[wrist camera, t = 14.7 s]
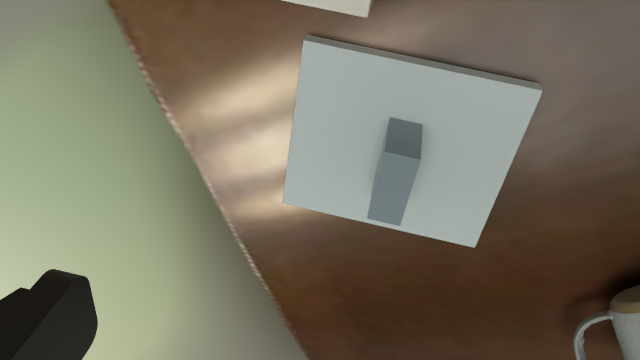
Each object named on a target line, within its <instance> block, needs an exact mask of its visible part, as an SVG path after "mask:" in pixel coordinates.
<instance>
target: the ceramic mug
mask: <svg viewBox="0 0 640 360" xmlns="http://www.w3.org/2000/svg"><path fill="white" fill-rule="evenodd" d="M609 307H610V309H609V311H605V312H599V313H596V314H594V315H591V316H589V317H587V318H586V319H584V320H583V321H582V322H581V323H580V324H579V325H578V326H577V328H576V330H575V333H574V338H573V345H574V352H575V355H576V359H577V360H586V356H585V353H584V348H583V343H584V341H585V340H584V338H583V334H584V331H585V329H587V328H588V327H589V326H590V325H591V324H594V323H596V322H599V321H602V320H606V319H611V320H612V324H613V328H614V330H615V333H616V336H617V340H618V341H619V343H620V347H621V350H622V354H623V357H624V360H640V285H638V286H635V287H632V288H629V289H626V290H624V291H622V292H620V293H618V294H617V295H615V296H614V298H613V299H612V300H611V302H610V305H609Z"/></svg>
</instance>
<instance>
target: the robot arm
mask: <svg viewBox="0 0 640 360" xmlns="http://www.w3.org/2000/svg"><path fill="white" fill-rule="evenodd" d="M97 325H98V322H97V315H96V311H95V306H94V302H93V297H92V293H91V288H90V284H89V280H88V279H87V278H86V277H84V276H81V275H76V274H72V273H68V272H64V271H60V270H56V269H52V270H49V271H47V272H46V273H44V274H43V275H42V276H41V278H40V279H39V280H38V281H37V282H36V283H35V284H34V285H33V287H32V288H31V289H30V290H29V289H25V288H19V289H17V290H16V291H14V292H13V293H11V294H9V295H8V296H6V297H5V298H3V299H1V300H0V360H82V358H83V357H84V355H85V354H86V352H87V351H88V349H89V348H90V346H91V344H92V342H93V340H94V338H95V334H96V331H97Z"/></svg>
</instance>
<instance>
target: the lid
mask: <svg viewBox="0 0 640 360" xmlns="http://www.w3.org/2000/svg"><path fill="white" fill-rule="evenodd" d="M542 92H543V90H542V87H541V84H540V83H535V82H530V81H526V80H521V79H516V78H511V77H507V76H502V75H497V74H492V73H488V72H483V71H478V70H473V69H469V68H464V67H459V66H454V65H450V64H445V63H440V62H435V61H431V60H426V59H421V58H416V57H411V56H407V55H402V54H397V53H392V52H388V51H383V50H378V49H373V48H369V47H364V46H359V45H354V44H350V43H345V42H340V41H335V40H331V39H326V38H321V37H316V36H312V35H307V36H306V37H305V39H304V42H303V49H302V57H301V65H300V72H299V80H298V87H297V95H296V103H295V110H294V118H293V125H292V133H291V141H290V148H289V156H288V163H287V171H286V179H285V186H284V194H283V202H282V203H284V204H288V205H293V206H297V207H301V208H306V209H310V210H314V211H318V212H323V213H327V214H331V215H336V216H340V217H344V218H349V219H353V220H357V221H362V222H366V223H370V224H374V225H379V226H383V227H387V228H392V229H396V230H400V231H405V232H409V233H413V234H418V235H422V236H426V237H430V238H435V239H439V240H443V241H448V242H452V243H456V244H461V245H465V246H469V247H474V248H475V246H476V244H477V241H478V239H479V237H480V234H481V232H482V230H483V228H484V225H485V223H486V221H487V218H488V216H489V214H490V211H491V209H492V207H493V205H494V202H495V200H496V198H497V195H498V193H499V191H500V188H501V186H502V184H503V182H504V179H505V177H506V175H507V172H508V170H509V168H510V165H511V163H512V161H513V159H514V156H515V154H516V152H517V149H518V147H519V145H520V142H521V140H522V138H523V136H524V133H525V131H526V129H527V126H528V124H529V122H530V119H531V117H532V115H533V113H534V110H535V108H536V106H537V103H538V101H539V99H540V96H541V94H542Z"/></svg>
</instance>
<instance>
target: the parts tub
mask: <svg viewBox="0 0 640 360" xmlns="http://www.w3.org/2000/svg"><path fill="white" fill-rule="evenodd" d="M282 1H287V2H292V3H297V4H302V5H307V6H312V7H317V8H321V9H326V10H331V11H336V12H341V13H346V14H351V15H356V16H361V17H365V18H367V17H368V14H369V11H370V9H371V6H372V3H373V0H282Z"/></svg>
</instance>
